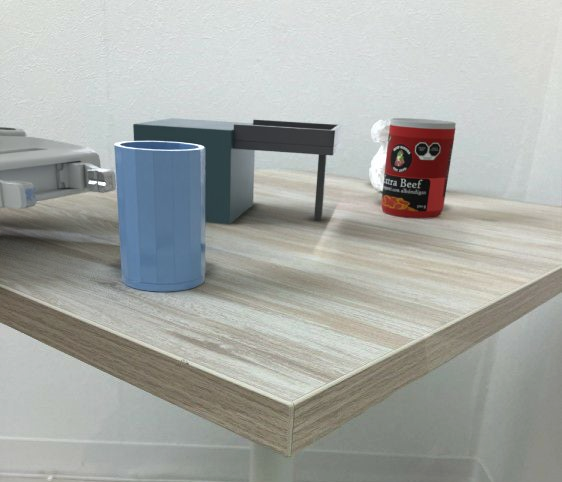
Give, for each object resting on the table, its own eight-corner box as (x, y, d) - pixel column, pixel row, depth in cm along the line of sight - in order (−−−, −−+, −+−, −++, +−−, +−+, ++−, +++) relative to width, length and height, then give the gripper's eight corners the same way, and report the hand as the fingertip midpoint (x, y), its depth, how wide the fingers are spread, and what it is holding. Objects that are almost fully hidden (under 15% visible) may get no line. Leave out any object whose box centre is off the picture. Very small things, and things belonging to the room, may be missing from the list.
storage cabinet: (137, 225, 68) (132, 118, 64) (173, 205, 79) (171, 113, 74) (325, 241, 65) (334, 131, 61) (335, 218, 76) (343, 124, 72)
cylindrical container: (108, 287, 48) (99, 146, 44) (139, 265, 54) (133, 139, 50) (191, 295, 47) (189, 152, 43) (213, 272, 53) (214, 144, 49)
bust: (398, 201, 103) (363, 138, 102) (440, 175, 99) (404, 109, 98) (373, 212, 93) (334, 143, 92) (418, 184, 89) (378, 111, 88)
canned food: (368, 210, 82) (377, 118, 78) (404, 205, 87) (415, 118, 83) (418, 221, 77) (431, 123, 73) (453, 214, 82) (468, 122, 78)
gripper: (-187, 138, 46) (-44, 156, 41) (27, 127, 63) (145, 139, 58) (-165, 228, 48) (-29, 255, 43) (34, 193, 65) (148, 210, 60)
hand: (72, 188), depth 51 cm, fingers open, 8 cm apart
